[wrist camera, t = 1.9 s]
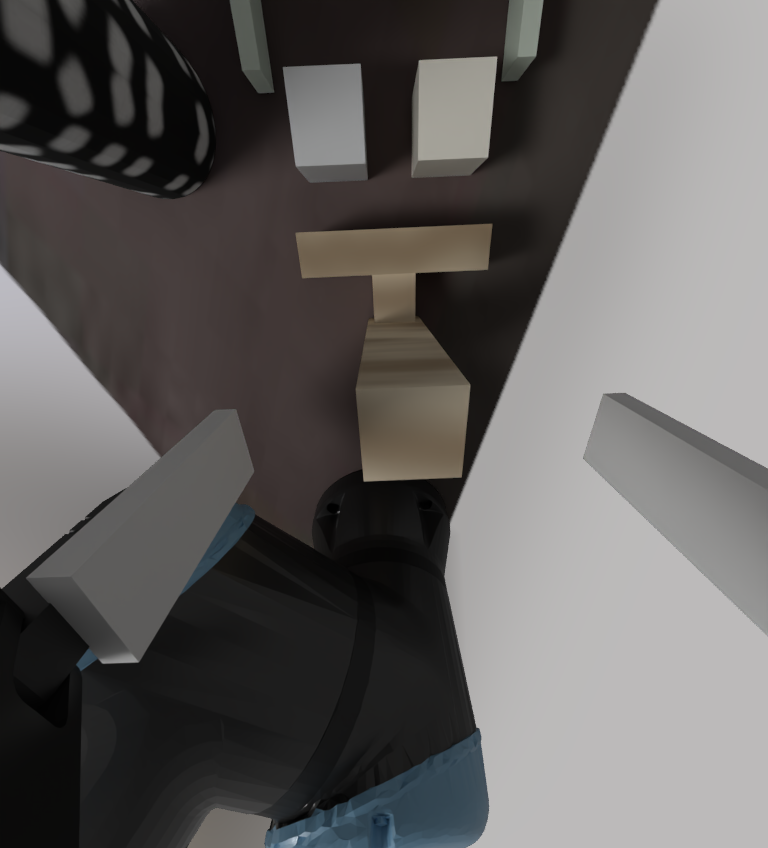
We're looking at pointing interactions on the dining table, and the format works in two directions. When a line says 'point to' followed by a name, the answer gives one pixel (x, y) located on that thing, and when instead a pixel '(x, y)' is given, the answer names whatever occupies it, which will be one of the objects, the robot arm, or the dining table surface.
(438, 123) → the off-white cube
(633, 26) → the dining table surface
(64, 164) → the spotted tube
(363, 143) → the gray cube
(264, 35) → the bay
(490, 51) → the dining table surface
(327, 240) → the cream t-shaped block
